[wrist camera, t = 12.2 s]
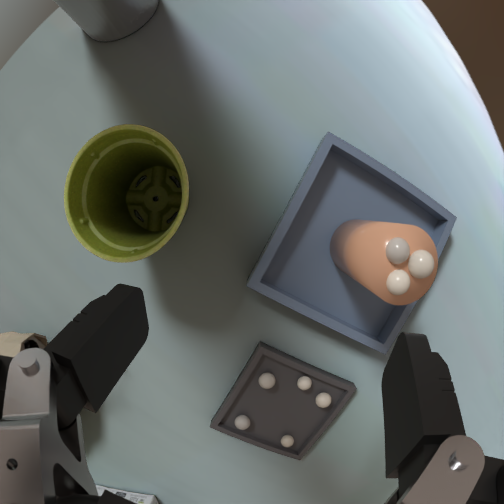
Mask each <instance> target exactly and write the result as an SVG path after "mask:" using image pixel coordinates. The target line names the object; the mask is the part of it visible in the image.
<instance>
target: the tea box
mask: <svg viewBox="0 0 504 504" xmlns="http://www.w3.org/2000/svg"><path fill="white" fill-rule="evenodd" d="M96 488H97V492H98V496H101V495H102V494H103V492H104V490H105V489H106V490H108V491H110V492H112V493H114V494H116V495H118V496H121V497H123V498H125V499H127V500H130V501H132V502H134V503H137V504H159V503H158V501H157V499H156V497H155V495H146V494H140V493H133V492H127V491H123V490H117V489H112V488H107V487H104V486H99V485H96Z"/></svg>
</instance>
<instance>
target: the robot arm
mask: <svg viewBox="0 0 504 504" xmlns="http://www.w3.org/2000/svg"><path fill="white" fill-rule="evenodd" d="M54 1H55V2H56V3H57V4H58V5H59V6H60V7H61V8H62V9H63V10H64V11H65V12H66V13H67V14H68V15H69V16H70V17H71V18H72V19H73V20H74V21H75V22H76V23H77V24H78V25H79V26H80V27H81V28H82V29H83V30H84V31H85V32H86V33H87V34H88V35H89V36H90V37H91V38H93V39H94V40H97V41H113V40H117V39H120V38H123V37H125V36H127V35H130V34H132V33H133V32H135V31H136V30H138V29H139V28H140V27H142V26H143V25H144V24H145V23H146V22H147V21H148V20H149V19H150V18H151V17H152V15H153V14H154V12H155V11H156V8H157V6H158V1H159V0H54ZM148 331H149V325H148V319H147V313H146V307H145V301H144V295H143V291H142V290H141V289H140V288H138V287H133V286H129V285H124V284H117V285H116V286H115V287H114V288H113V289H112V290H111V291H110V292H109V293H108V294H107V295H103V296H101V297H99V298H97V299H95V300H93V301H91V302H90V303H89V304H88V305H87V306H86V307H85V308H84V309H83V310H82V311H81V313H80V314H78V315H77V316H76V317H75V318H74V319H73V321H71V322H70V323H69V324H68V325H67V326H66V327H65V328H64V329H63V330H62V331H61V332H60V333H59V334H58V335H57V336H56V337H55V338H54V339H53V340H52V341H51V342H50V343H49V344H48V345H47V346H46V347H45V348H44V349H40V348H29V349H25V350H23V351H21V352H19V353H18V354H17V355H16V356H15V357H9V356H3V355H0V504H137V503H134V502H132V501H130V500H127V499H125V498H123V497H121V496H118V495H116V494H114V493H112V492H110V491H108V490H106V489H105V490H104V492H103V494H102V495H101V496H98V492H97V488H96V485H95V483H94V480H93V478H92V476H91V474H90V472H89V469H88V466H87V460H86V454H85V447H84V439H83V431H82V422H81V416H80V414H79V413H80V411H81V410H82V409H83V407H84V408H86V409H88V410H90V411H92V412H94V413H96V412H97V411H98V409H99V408H100V406H101V405H102V404H103V402H104V401H105V399H106V398H107V396H108V395H109V393H110V392H111V390H112V389H113V387H114V386H115V385H116V383H117V382H118V380H119V379H120V377H121V376H122V375H123V373H124V372H125V370H126V369H127V367H128V366H129V365H130V363H131V362H132V360H133V359H134V357H135V356H136V355H137V353H138V352H139V350H140V349H141V348H142V346H143V345H144V343H145V342H146V339H147V336H148ZM454 390H455V389H454V386H453V382H452V381H451V375H450V372H449V369H448V365H447V364H446V363H445V361H444V360H443V359H442V357H441V356H440V355H439V353H436V352H431V349H430V346H429V342H428V339H427V337H426V335H424V334H415V333H405V332H402V333H401V334H400V335H399V337H398V339H397V341H396V344H395V346H394V348H393V351H392V353H391V355H390V358H389V360H388V362H387V365H386V367H385V369H384V373H383V377H382V398H383V412H384V429H385V458H386V478H398V479H399V487H398V488H397V489H396V490H395V491H394V492H393V493H392V495H391V496H390V497H389V498H388V499H387V501H386V502H385V503H384V504H504V460H502V459H497V458H493V457H488V456H485V455H484V453H483V450H482V448H481V447H480V445H479V444H478V443H477V442H476V441H475V440H473V439H472V438H470V437H467V436H466V434H465V429H464V425H463V421H462V416H461V412H460V408H459V404H458V400H457V397H456V393H454Z"/></svg>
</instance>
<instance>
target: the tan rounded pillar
mask: <svg viewBox="0 0 504 504" xmlns="http://www.w3.org/2000/svg"><path fill="white" fill-rule="evenodd" d="M330 255H331V258H332V260H333V262H334V264H335V265H336V266H337V267H338V268H339V269H340V270H341V271H343V272H344V273H346V274H347V275H348V276H350V277H351V278H353V279H354V280H356V281H357V282H358V283H360V284H361V285H363V286H364V287H366V288H367V289H368V290H370V291H371V292H373V293H374V294H375V295H377V296H378V297H380V298H381V299H382V300H384V301H385V302H387V303H390V304H393V305H407V304H410V303H413V302H415V301H417V300H418V299H420V298H421V297H422V296H423V295H424V294H425V293H426V292H427V291H428V290H429V288H430V287H431V285H432V283H433V281H434V279H435V276H436V273H437V267H438V255H437V250H436V247H435V244H434V242H433V240H432V239H431V237H430V236H429V235H428V234H427V233H426V232H425V231H424V230H423V229H421V228H419V227H417V226H414V225H409V224H400V223H391V222H381V221H370V220H360V219H353V220H349V221H346V222H344V223H343V224H341V225H340V226H339V227H338V228H337V229H336V230H335V232H334V233H333V235H332V238H331V241H330Z"/></svg>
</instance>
